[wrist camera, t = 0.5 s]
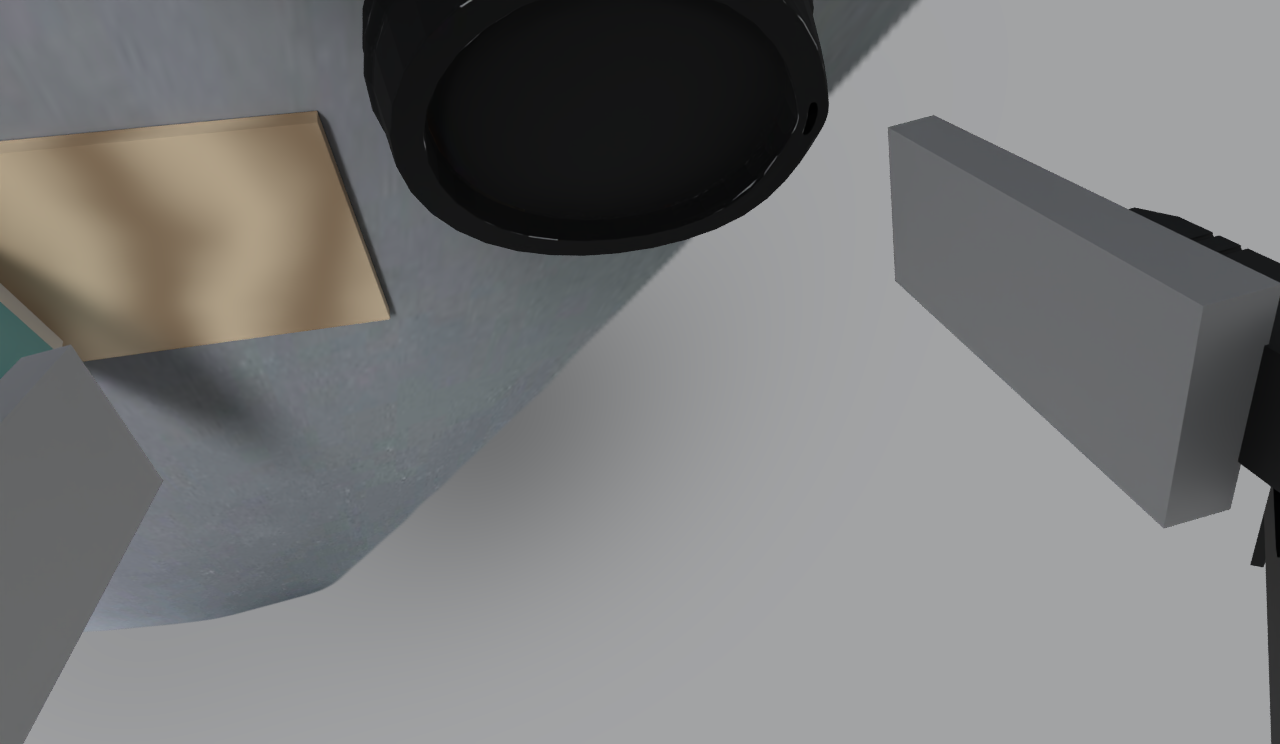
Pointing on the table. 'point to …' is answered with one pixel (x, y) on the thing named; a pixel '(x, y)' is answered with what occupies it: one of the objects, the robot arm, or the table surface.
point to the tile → (21, 332)
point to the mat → (183, 235)
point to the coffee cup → (594, 113)
